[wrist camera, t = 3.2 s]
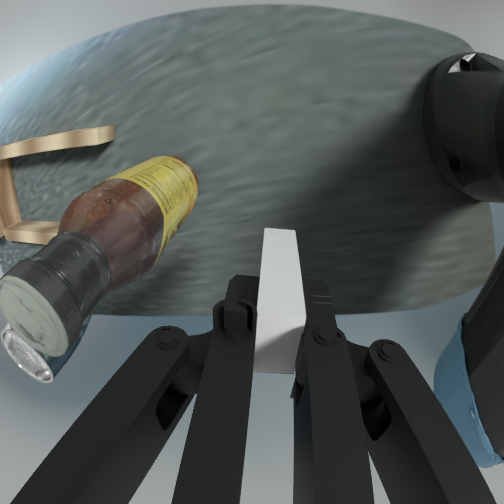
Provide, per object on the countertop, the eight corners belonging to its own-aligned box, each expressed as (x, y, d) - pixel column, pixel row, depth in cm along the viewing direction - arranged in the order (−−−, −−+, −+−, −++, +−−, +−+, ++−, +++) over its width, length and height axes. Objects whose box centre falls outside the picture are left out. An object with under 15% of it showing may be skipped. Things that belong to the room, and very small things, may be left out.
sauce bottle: (155, 223, 28) (31, 375, 11) (131, 166, 26) (-38, 272, 8) (215, 204, 27) (116, 381, 9) (192, 141, 24) (20, 232, 7)
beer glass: (82, 293, 34) (20, 373, 20) (67, 246, 30) (-12, 321, 17) (125, 299, 33) (66, 393, 20) (112, 248, 30) (32, 337, 17)
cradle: (113, 125, 24) (90, 129, 20) (123, 238, 29) (105, 256, 26) (-8, 148, 25) (-28, 155, 21) (6, 229, 30) (-12, 241, 27)
